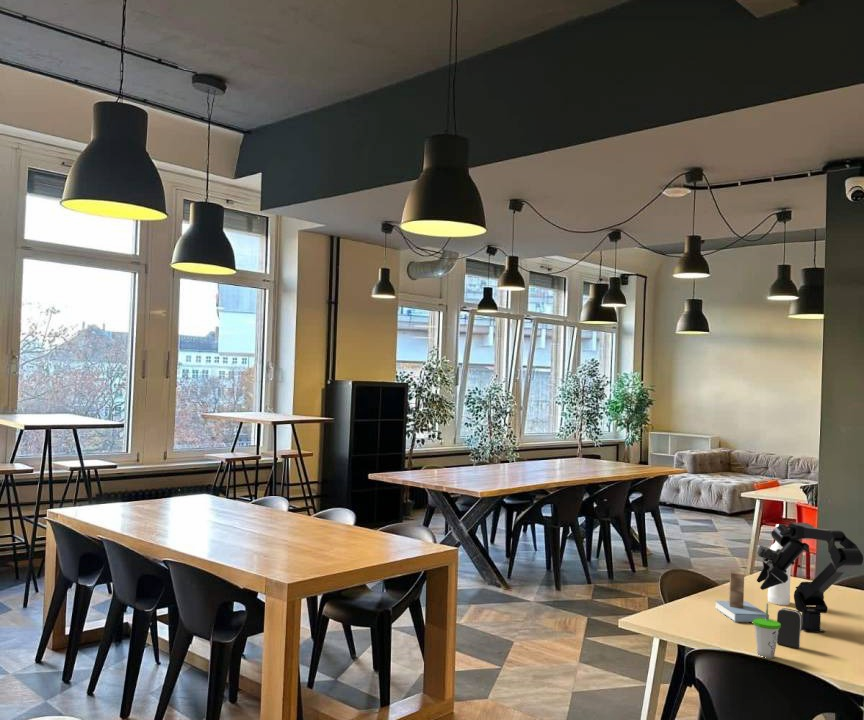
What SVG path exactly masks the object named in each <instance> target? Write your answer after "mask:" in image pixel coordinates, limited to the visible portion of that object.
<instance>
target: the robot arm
mask: <svg viewBox="0 0 864 720" xmlns="http://www.w3.org/2000/svg"><path fill="white" fill-rule="evenodd" d="M778 524H779V526H778V527H776V526H775V528H774V529H773V530H772V531H771V534H770V535H771V538H772V539H773V540H776V541H777V542H778V543H779V544H780V545H781V546H782V547H783V548H782V549H781V550H780V549H777V550H776V551H774V550H772V549H770V548H769V547H766V546H764V545H759V548H758V550H757V553H756V554H757V556H758V557H760V558H762V559H763V560H761V561H762V569H761V571H760V573H759V575H758V576H757V579H756V582H757V583H761V585H760V587H759V588H760V590H762V591H764V590H766V589H767V590H768V588H769V587H772V586H775V585H778V584H782V583H785V582H786V581H787V580H788V575H787V574H786V572H787V570H786V569H787V568H788V567H789V566H790V565H791V566H792V565H794V564H796V562H795V561H796V560H797V559H798V558H799V557H800V556H801V555H802V554H803V553H804V552H806V553H807V554H810V545H809V544H808V543H807V542H802V540H815V541H816V540H817V541H822V542H823V541H824V542H827V548H828V550H827V551H828V553H829V555H830V563H829V564H828V565H826V566H825V568H824V569H823V570H822V571H821V572H820V573H818V574H817V576H816V577H814V578H813V580H812V581H801V582H800V583H799V584H798V585H797V586H795V591H794V592H793V599H794V606H795V610H796V611H799V612H800V613H801V615H802V628H801V630H802V631H805V632H806V633H807V632H808V633H825V630H824V629H822V628H821V617H822V616H821V614H827V612H828V610H829V609H828V605H827V603H826V601H825V594H824V593H825V592H826V591H827V590H828V589H829V588H830V587H831V586H832V585H833V584H835V583H836V581H837V580H839V579H840V577H842V576H843V575H844V574H845V573H846V572H850V571H852V570H855V569H857V568H859V567H861V566H862V564H863V562H864V555H863V553H862V552H861V550H860V549H859V547H858V546H857V544H856V543H855V542H853V541H852V539H850V538H848V537H847V536H846V534H845V533H844V531H841V530H839V529H836V530H834V529H827V528H818V527H814V526H813V525H812V524H810V523H807V522H790V523H788V526H787V525H786V524H784V523H778ZM835 543H839V544H840V546H842V547H837V545H836V544H835Z"/></svg>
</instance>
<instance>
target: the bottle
mask: <svg viewBox="0 0 864 720" xmlns="http://www.w3.org/2000/svg"><path fill="white" fill-rule="evenodd" d="M779 524H780V523H778V524H777V523H776V524H775V528H776V527H778V526H779ZM782 548H783V547H782V546H781V545H780V544H779V543H778V542H777V541H776V540H775V541H774V543H773V544H771V545H770V548H769V549H772V550H774V551H776V550H777V549H780V550H781V549H782ZM791 568H792V564H791V565H790V566H789V567H788V568H787V569H786V570H787V572H786V574H787V575H788V580H787V581H786V582H785V583H782V584H778V585H775V586H772V587H769V588H767V602H768V603H769V602H770V603H769V604H772V603H773V605H776V604H778V605H777V606H789V605H790V601H791V573H792V572H791V571H792V570H791Z"/></svg>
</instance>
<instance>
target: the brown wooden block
mask: <svg viewBox="0 0 864 720" xmlns="http://www.w3.org/2000/svg"><path fill="white" fill-rule="evenodd" d="M744 593H745V572H744V571H737V570H730V571H729V593H728V594H729V597H728V598H729V599H728V601H729V605H730V607H737V608H743V601H744V598H745V597H744V596H745V595H744Z"/></svg>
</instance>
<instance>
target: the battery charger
mask: <svg viewBox="0 0 864 720" xmlns="http://www.w3.org/2000/svg"><path fill="white" fill-rule="evenodd" d="M776 615H777V616H776V621H777V622H779V623H780V624H781V627H780V628H779V632H778V638H777V643H776V645H781V646H784V647H789V648H795V649H800V647H801V632H802V631H801V630H802V629H801V628H802V612H799V611H798V610H796V609H791V608H784V607H783V608H780V609H778V611H777V614H776Z"/></svg>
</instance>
